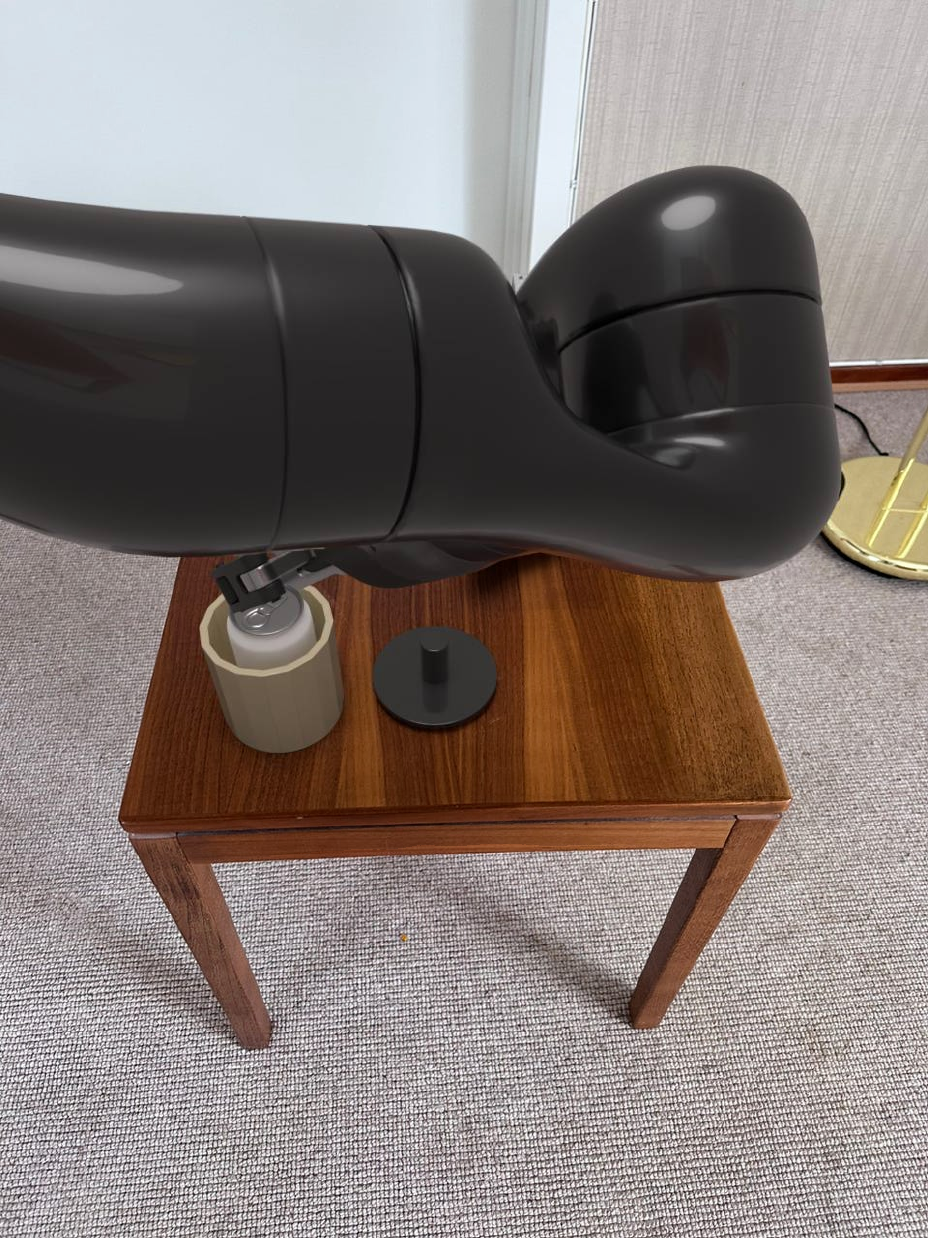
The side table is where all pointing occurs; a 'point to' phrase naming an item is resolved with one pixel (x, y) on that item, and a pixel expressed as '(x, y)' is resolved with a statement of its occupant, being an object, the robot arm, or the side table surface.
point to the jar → (277, 684)
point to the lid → (434, 677)
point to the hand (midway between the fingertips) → (307, 542)
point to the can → (272, 632)
